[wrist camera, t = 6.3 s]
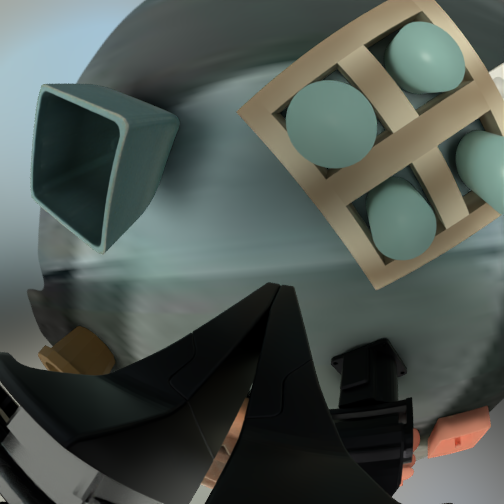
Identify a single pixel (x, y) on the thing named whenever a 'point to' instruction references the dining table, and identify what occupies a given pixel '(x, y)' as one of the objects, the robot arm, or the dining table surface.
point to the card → (498, 78)
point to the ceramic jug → (225, 449)
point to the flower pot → (97, 158)
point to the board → (385, 134)
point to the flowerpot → (78, 354)
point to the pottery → (452, 435)
